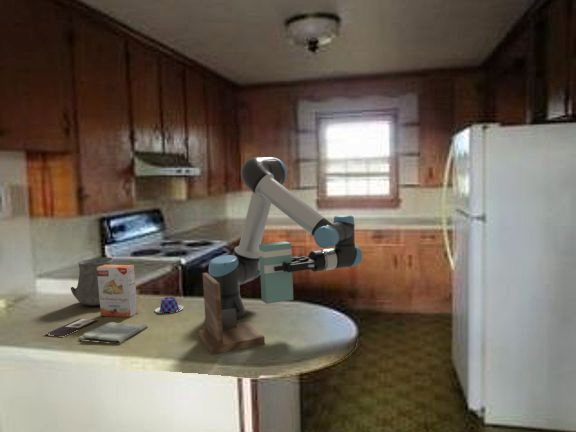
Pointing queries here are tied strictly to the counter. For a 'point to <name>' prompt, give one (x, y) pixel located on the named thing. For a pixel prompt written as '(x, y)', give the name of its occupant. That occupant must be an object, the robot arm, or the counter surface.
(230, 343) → the brown angled piece
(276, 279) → the book
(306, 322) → the counter surface
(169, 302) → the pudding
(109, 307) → the cracker box
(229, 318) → the bookend
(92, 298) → the vessel
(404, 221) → the counter surface
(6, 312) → the counter surface
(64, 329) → the chocolate bar
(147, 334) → the counter surface
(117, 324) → the dish towel
